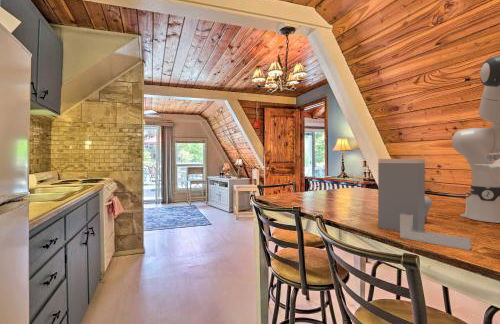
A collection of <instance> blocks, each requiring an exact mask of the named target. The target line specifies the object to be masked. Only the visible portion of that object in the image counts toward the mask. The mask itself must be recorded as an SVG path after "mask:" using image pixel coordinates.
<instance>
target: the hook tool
mask: <svg viewBox="0 0 500 324" xmlns="http://www.w3.org/2000/svg"><path fill="white" fill-rule="evenodd" d="M399 238H400V239H403V240H410V241H415V242H421V243H426V244H431V245H438V246H443V247H448V248H454V249H459V250H465V251H470V250H471V248H472V238H470V237H464V236H458V235H452V234H445V233H439V232H432V231H426V230H425V231H424V230H423V231H420V230H414V229H413V214H407V213H402V214H400V231H399Z"/></svg>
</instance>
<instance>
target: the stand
mask: <svg viewBox="0 0 500 324" xmlns="http://www.w3.org/2000/svg"><path fill="white" fill-rule="evenodd" d="M425 160H426V159H425V158H378V160H377V161H378V162H377V164H378V165H377V167H378V170H377V172H378V173H377V174H378V177H377V179H378V181H377V183H378V184H377V186H378V187H377V189H378V190H377V193H378V195H377V198H378V199H377V201H378V202H377V203H378V204H377V205H378V206H377V207H378V208H377V209H378V210H377V213H378V214H377V215H378V218H377V219H378V221H377V223H378V224H377V226H378V227H377V228H378V229H381V230H388V231H389V230H390V231H395V232H400V214H402V213H407V214H413V229H414V230H420V231H424V230H425V228H426V227H425V226H426V225H425V224H426V223H425V222H426V221H425V196H426V193H425V192H426V190H425V188H426V186H425V185H426V184H425V183H426V180H425V179H426V177H425V176H426V175H425V173H426V171H425V169H426V168H425V167H426V161H425Z"/></svg>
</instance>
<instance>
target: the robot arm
mask: <svg viewBox="0 0 500 324" xmlns="http://www.w3.org/2000/svg"><path fill="white" fill-rule="evenodd" d="M479 70H480V71H479V79H480V82H481V84H483V86H484V88H483V89H482V90H483V91H482V94H481V98H480V102H479V103H480V104H479V108H478V115H479V117H480V118H481V119H482V120H484V121H487V122H489V123H492V125H491V127H490V126H489V127H472V128H470V127H469V128H464V129H460V130H457V131H456V132H455V133H454V134H453V136H452V137H451V146H452V148H453V149H454V151H455V152H457V153H459V154H460V155H461V156H463V157H464V159H466V161H467V162H468V164H469V167H470V170H471V185H470V189H469V190H470V195H469V196H468V197H467V198H466V199H465V212H464V213H461V214H460V217H462V218H466V219H469V220H470V219H471V220H474V221H479V222H484V223H485V222H486V223H498V224H500V55H499V54H498V55H496V56H492V57H490V58H487V59H486V60H485V61H484V62H483V63H482V64H481V67H480V69H479Z"/></svg>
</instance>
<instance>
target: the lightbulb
mask: <svg viewBox="0 0 500 324" xmlns="http://www.w3.org/2000/svg"><path fill="white" fill-rule="evenodd" d="M432 205H433V201H432V199H431V198H430V197H429V196H427V195H425V222H427V221H428V220H427V219H428V215H429V211H430V209H431V208H432Z"/></svg>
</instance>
